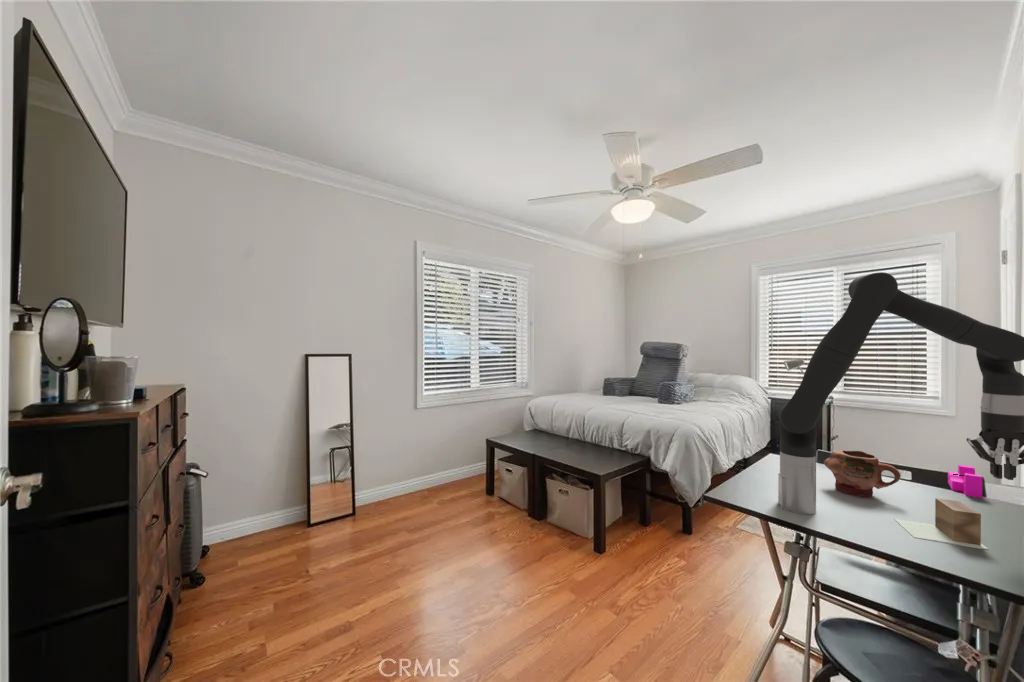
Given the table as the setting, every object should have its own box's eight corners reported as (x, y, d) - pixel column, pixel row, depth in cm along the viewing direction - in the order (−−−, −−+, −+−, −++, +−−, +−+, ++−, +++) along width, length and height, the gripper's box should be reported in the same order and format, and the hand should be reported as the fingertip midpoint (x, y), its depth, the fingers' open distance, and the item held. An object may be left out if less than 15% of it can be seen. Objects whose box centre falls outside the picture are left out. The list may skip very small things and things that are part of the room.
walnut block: (953, 541, 104) (953, 510, 104) (935, 526, 112) (935, 498, 112) (980, 545, 102) (980, 513, 102) (959, 530, 110) (959, 501, 110)
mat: (914, 538, 106) (914, 537, 106) (894, 520, 117) (894, 518, 117) (988, 550, 100) (988, 548, 100) (960, 530, 111) (960, 528, 111)
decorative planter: (902, 498, 134) (902, 456, 134) (899, 508, 126) (899, 464, 126) (827, 482, 149) (827, 445, 149) (820, 490, 141) (820, 451, 141)
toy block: (947, 483, 149) (947, 463, 149) (973, 487, 145) (973, 466, 145) (954, 494, 138) (954, 472, 138) (982, 499, 134) (982, 477, 134)
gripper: (975, 411, 103) (975, 479, 103) (1053, 416, 97) (1053, 487, 97) (958, 407, 110) (958, 470, 110) (1030, 411, 104) (1030, 478, 104)
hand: (1003, 478), depth 104 cm, fingers closed
